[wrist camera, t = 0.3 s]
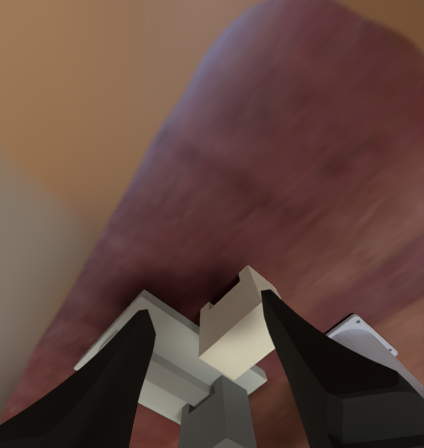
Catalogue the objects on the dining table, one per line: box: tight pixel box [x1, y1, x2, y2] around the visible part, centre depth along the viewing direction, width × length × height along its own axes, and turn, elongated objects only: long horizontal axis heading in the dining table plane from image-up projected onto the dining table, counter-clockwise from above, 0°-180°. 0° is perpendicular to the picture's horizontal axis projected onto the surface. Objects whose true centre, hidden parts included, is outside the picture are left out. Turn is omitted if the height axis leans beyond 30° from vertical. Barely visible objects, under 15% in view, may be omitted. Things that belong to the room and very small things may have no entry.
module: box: [198, 265, 282, 380], centre depth 20 cm, size 4×9×6 cm, turn 138°
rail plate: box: [74, 290, 267, 448], centre depth 23 cm, size 20×14×7 cm
